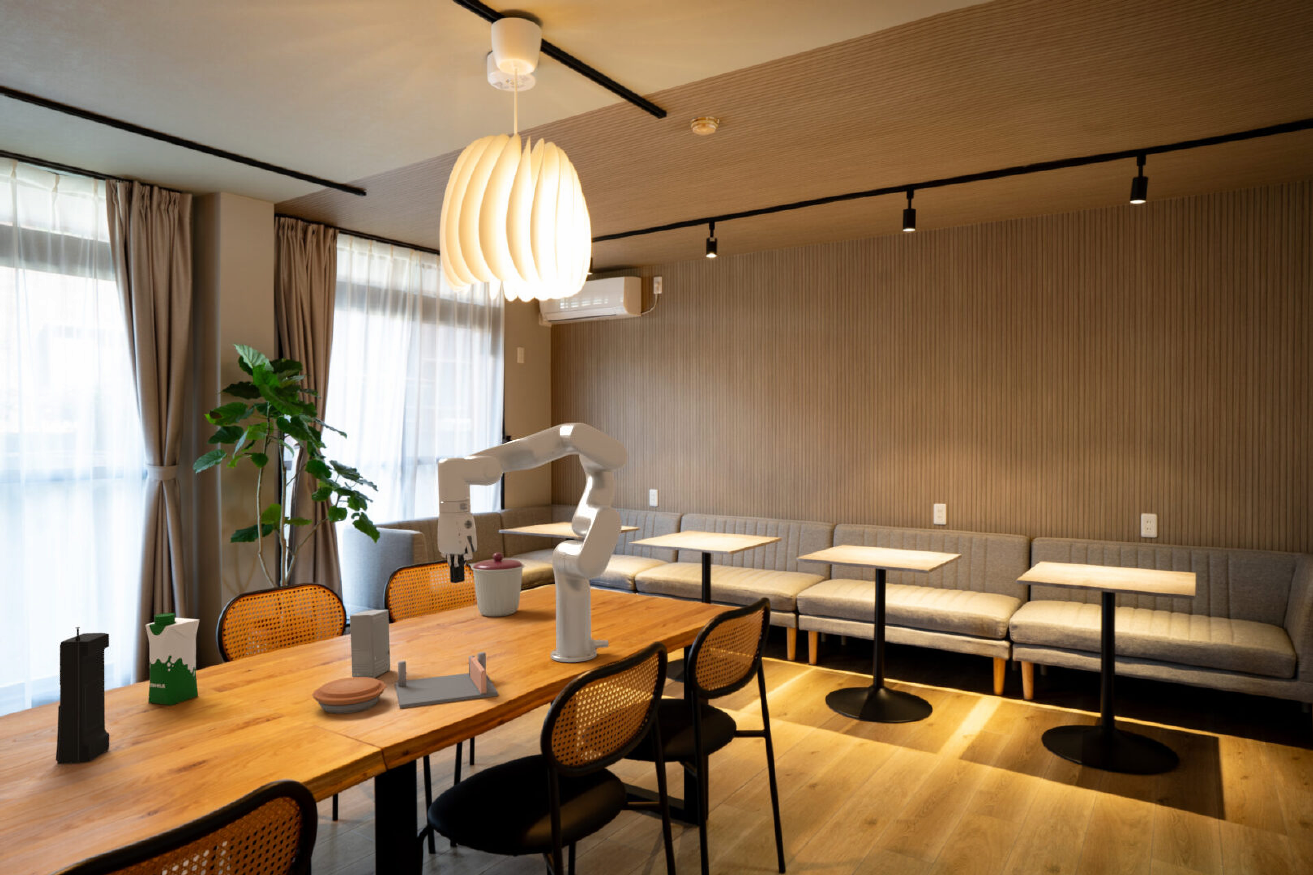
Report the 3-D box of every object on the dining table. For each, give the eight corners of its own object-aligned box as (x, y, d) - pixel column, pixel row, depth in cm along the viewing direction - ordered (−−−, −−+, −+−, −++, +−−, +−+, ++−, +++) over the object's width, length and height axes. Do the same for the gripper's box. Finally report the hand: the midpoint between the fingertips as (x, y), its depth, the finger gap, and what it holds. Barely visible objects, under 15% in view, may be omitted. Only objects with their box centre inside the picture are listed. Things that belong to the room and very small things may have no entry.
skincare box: (374, 679, 195) (373, 615, 195) (348, 677, 196) (347, 614, 197) (392, 669, 203) (391, 608, 203) (367, 668, 205) (366, 607, 205)
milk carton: (141, 703, 178) (140, 615, 179) (177, 691, 187) (176, 607, 187) (170, 707, 176) (169, 618, 176) (205, 694, 184) (204, 609, 184)
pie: (315, 722, 165) (315, 698, 165) (310, 701, 179) (309, 679, 179) (391, 709, 172) (391, 687, 173) (380, 690, 186) (380, 669, 186)
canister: (463, 618, 262) (462, 555, 262) (483, 607, 280) (483, 548, 280) (514, 620, 259) (513, 556, 259) (532, 608, 277) (531, 549, 277)
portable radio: (80, 748, 152) (80, 619, 152) (113, 746, 152) (112, 618, 153) (53, 764, 144) (52, 628, 144) (87, 763, 144) (87, 627, 145)
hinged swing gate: (484, 674, 198) (484, 648, 198) (497, 695, 181) (497, 667, 181) (395, 684, 190) (394, 658, 190) (399, 708, 173) (399, 678, 173)
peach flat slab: (468, 675, 193) (468, 654, 193) (474, 674, 193) (474, 653, 194) (480, 693, 179) (480, 670, 179) (487, 692, 179) (486, 670, 179)
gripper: (486, 507, 191) (489, 582, 192) (447, 505, 200) (450, 576, 201) (462, 510, 185) (465, 587, 186) (423, 508, 194) (426, 581, 195)
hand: (457, 581), depth 193 cm, fingers closed
